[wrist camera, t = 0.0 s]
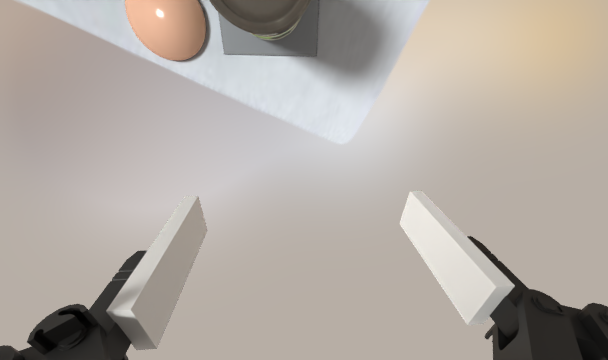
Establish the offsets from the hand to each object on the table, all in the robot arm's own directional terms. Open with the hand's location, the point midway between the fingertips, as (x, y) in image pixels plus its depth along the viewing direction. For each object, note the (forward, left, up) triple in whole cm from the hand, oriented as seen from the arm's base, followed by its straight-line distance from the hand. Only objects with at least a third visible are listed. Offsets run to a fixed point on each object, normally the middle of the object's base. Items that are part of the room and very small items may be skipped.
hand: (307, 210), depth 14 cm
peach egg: (-12, -17, -28) cm, 35 cm away
